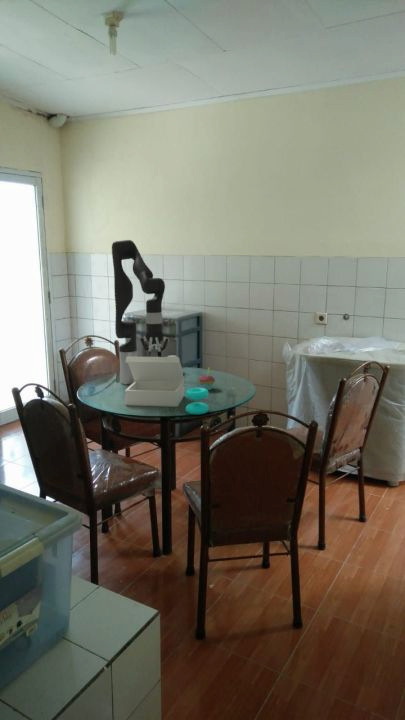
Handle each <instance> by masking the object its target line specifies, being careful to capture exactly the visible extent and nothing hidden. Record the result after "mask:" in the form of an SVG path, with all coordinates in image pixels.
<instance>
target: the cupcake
mask: <svg viewBox="0 0 405 720" xmlns="http://www.w3.org/2000/svg"><path fill="white" fill-rule="evenodd" d="M210 369H211V368H210V367H208V368H207V374H205V375H201V376H200V377H199V378H198V379H197V382H198V384H200V388H205V389H207V390H208V391H211V390H212V389H213V386H214V383H215V382H216V379H215V378H214V377H213V376H212V375H210Z"/></svg>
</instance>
